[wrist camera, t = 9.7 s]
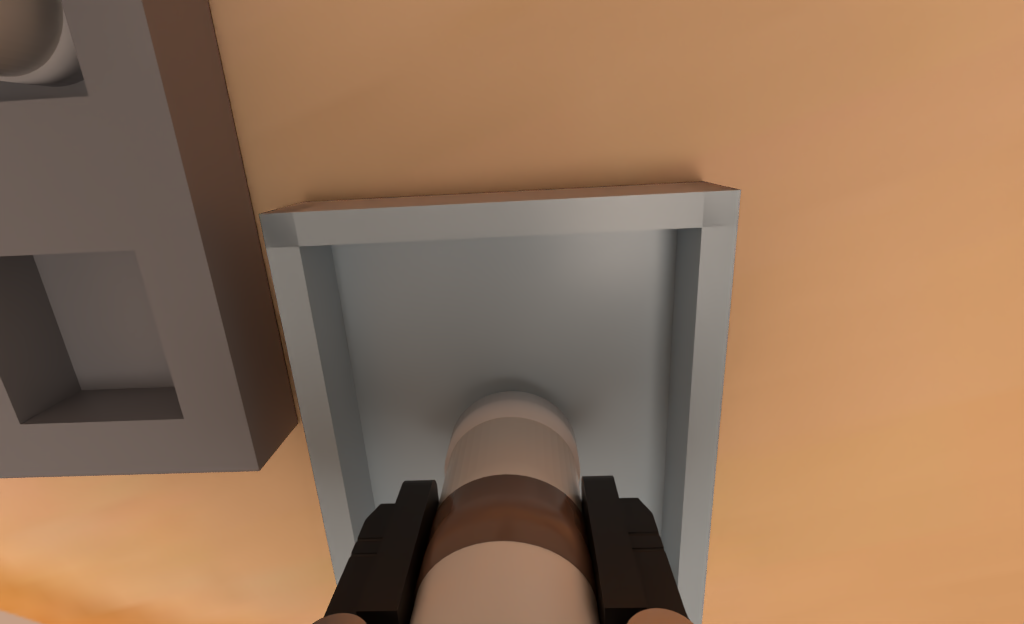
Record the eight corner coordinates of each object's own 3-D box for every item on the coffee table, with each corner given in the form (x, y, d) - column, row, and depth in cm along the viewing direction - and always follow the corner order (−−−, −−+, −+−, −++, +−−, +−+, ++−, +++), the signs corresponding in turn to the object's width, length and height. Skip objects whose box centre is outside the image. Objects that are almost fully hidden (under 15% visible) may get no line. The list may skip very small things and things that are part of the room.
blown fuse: (445, 393, 14) (318, 786, 5) (575, 388, 14) (653, 785, 5) (456, 500, 15) (365, 962, 7) (576, 497, 15) (643, 968, 6)
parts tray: (303, 201, 14) (259, 214, 12) (703, 181, 14) (741, 189, 11) (373, 588, 19) (351, 654, 16) (676, 583, 18) (699, 649, 16)
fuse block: (-173, -175, 12) (-352, -256, 9) (163, -205, 11) (67, -296, 9) (61, 430, 17) (-16, 478, 14) (298, 423, 16) (259, 470, 14)
